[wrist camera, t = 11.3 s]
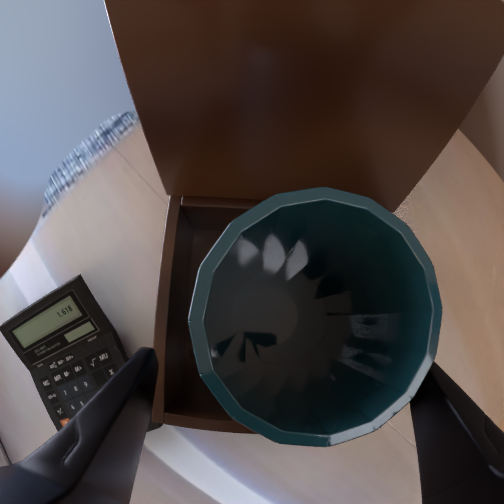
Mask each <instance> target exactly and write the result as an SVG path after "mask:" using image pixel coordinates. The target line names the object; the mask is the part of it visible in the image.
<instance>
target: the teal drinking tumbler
mask: <svg viewBox="0 0 504 504" xmlns="http://www.w3.org/2000/svg"><path fill="white" fill-rule="evenodd" d="M441 319H442V304H441V298H440V293H439V288H438V284H437V279H436V275H435V271H434V266H433V265H432V262H431V260H430V258H429V257H428V255H427V253H426V252H425V250H424V249H423V247H422V246H421V244H420V242H419V241H418V239H417V238H416V236H415V235H414V233H413V232H412V230H411V229H410V227H409V226H407V224H406V223H405V222H403V221H402V220H401V219H399V218H398V217H397V216H395V215H394V214H392V213H391V212H390V211H388V210H387V209H386V208H384V207H383V206H381V205H380V204H379V203H377V202H376V201H374V200H373V199H371V198H369V197H366V196H362V195H358V194H354V193H350V192H346V191H342V190H337V189H333V188H329V187H317V188H310V189H304V190H297V191H291V192H285V193H279V194H276V195H273V196H271V197H269V198H268V199H266V200H265V201H263V202H261V203H260V204H258V205H257V206H255V207H253V208H252V209H250V210H249V211H247V212H245V213H244V214H242V215H241V216H239V217H237V218H236V219H234V220H233V221H232V223H229V225H228V226H227V228H226V229H225V230H224V232H223V233H222V235H221V236H220V237H219V239H218V240H217V242H216V243H215V245H214V246H213V247H212V249H211V250H210V252H209V253H208V255H207V256H206V257H205V259H204V260H203V262H202V263H201V265H200V267H199V270H198V274H197V279H196V283H195V288H194V293H193V297H192V302H191V307H190V312H189V317H188V320H189V321H188V325H189V330H190V335H191V340H192V345H193V350H194V354H195V359H196V363H197V368H198V372H199V374H200V377H201V378H202V380H203V381H204V383H205V384H206V385H207V387H208V388H209V390H210V391H211V392H212V394H213V395H214V396H215V398H216V399H217V400H218V402H219V403H220V404H221V406H222V407H223V408H224V410H225V411H226V412H227V414H228V415H229V416H230V417H231V418H232V419H233V420H235V421H237V422H238V423H240V424H242V425H244V426H245V427H247V428H249V429H251V430H253V431H254V432H256V433H258V434H260V435H262V436H264V437H266V438H268V439H270V440H271V441H273V442H276V443H279V444H288V445H300V446H314V447H327V446H328V447H330V446H333V445H337V444H340V443H343V442H346V441H349V440H352V439H355V438H358V437H361V436H363V435H366V434H369V433H371V432H374V431H375V430H377V429H378V428H380V427H381V426H382V425H383V424H385V423H386V422H387V421H388V420H389V419H391V418H392V417H393V416H394V415H395V414H396V413H398V412H399V411H400V410H401V409H402V408H403V407H404V406H406V405H407V404H408V403H409V402H410V401H411V400H412V398H414V396H415V394H416V392H417V391H418V389H419V387H420V385H421V384H422V382H423V380H424V378H425V376H426V375H427V373H428V371H429V369H430V367H431V365H432V363H433V361H434V359H435V356H436V353H437V347H438V341H439V334H440V327H441Z"/></svg>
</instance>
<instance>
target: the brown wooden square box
mask: <svg viewBox="0 0 504 504" xmlns="http://www.w3.org/2000/svg"><path fill="white" fill-rule="evenodd" d="M263 201H265V200H259V199H243V198H225V197H204V196H175V195H170V198H169V204H168V210H167V217H166V223H165V230H164V238H163V245H162V253H161V262H160V271H159V280H158V290H157V301H156V314H155V328H154V345H153V349H154V350H155V352H156V356H157V359H158V363H159V370H158V376H157V383H156V389H155V396H154V402H153V408H152V422H156V423H162V424H164V423H165V424H167V425H173V426H179V427H186V428H193V429H201V430H210V431H220V432H232V433H247V434H258V433H256V432H254V431H253V430H251V429H249V428H247V427H245V426H244V425H242V424H240V423H238V422H237V421H235V420H233V419H232V418H231V417H230V416H229V415H228V414H227V412H226V411H225V410H224V408H223V407H222V406H221V404H220V403H219V402H218V400H217V399H216V398H215V396H214V395H213V394H212V392H211V391H210V390H209V388H208V387H207V385H206V384H205V383H204V381H203V380H202V378H201V377H200V374H199V372H198V368H197V363H196V359H195V354H194V350H193V345H192V340H191V335H190V330H189V325H188V321H189V320H188V317H189V312H190V307H191V302H192V297H193V293H194V288H195V283H196V279H197V274H198V270H199V267H200V265H201V263H202V262H203V260H204V259H205V257H206V256H207V255H208V253H209V252H210V250H211V249H212V247H213V246H214V245H215V243H216V242H217V240H218V239H219V237H220V236H221V235H222V233H223V232H224V230H225V229H226V228H227V226H228V225H229V223H232V221H233V220H234V219H236V218H237V217H239V216H241V215H242V214H244V213H245V212H247V211H249V210H250V209H252V208H253V207H255V206H257V205H258V204H260V203H261V202H263ZM380 428H381V427H380Z"/></svg>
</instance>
